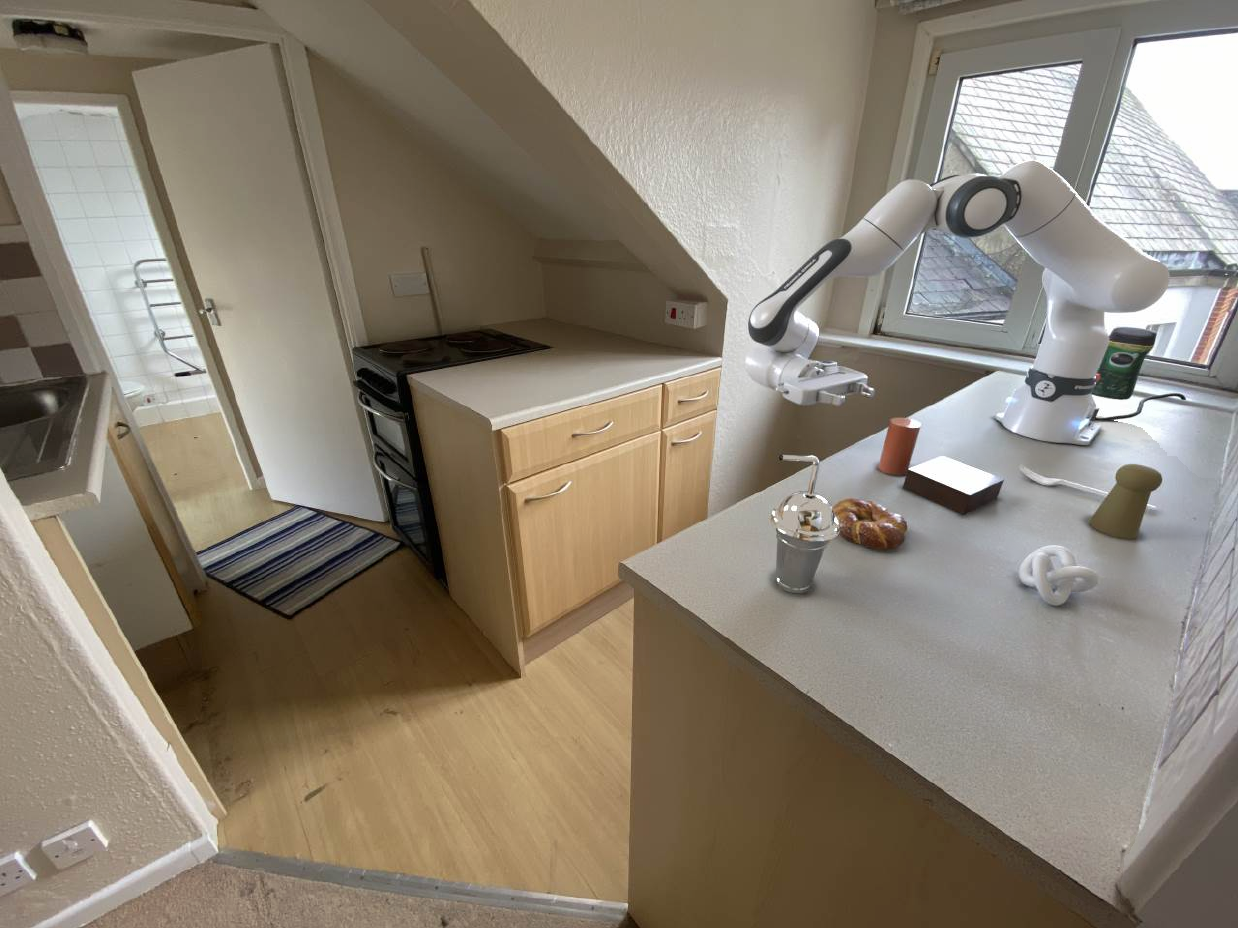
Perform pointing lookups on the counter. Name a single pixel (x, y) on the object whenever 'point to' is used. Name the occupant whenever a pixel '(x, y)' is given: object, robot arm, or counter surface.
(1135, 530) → the cork
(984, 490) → the stand
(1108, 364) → the coffee jar
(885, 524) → the pretzel
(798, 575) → the cup with straw
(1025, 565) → the knot
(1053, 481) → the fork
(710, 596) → the counter surface
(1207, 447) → the counter surface
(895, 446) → the canister
